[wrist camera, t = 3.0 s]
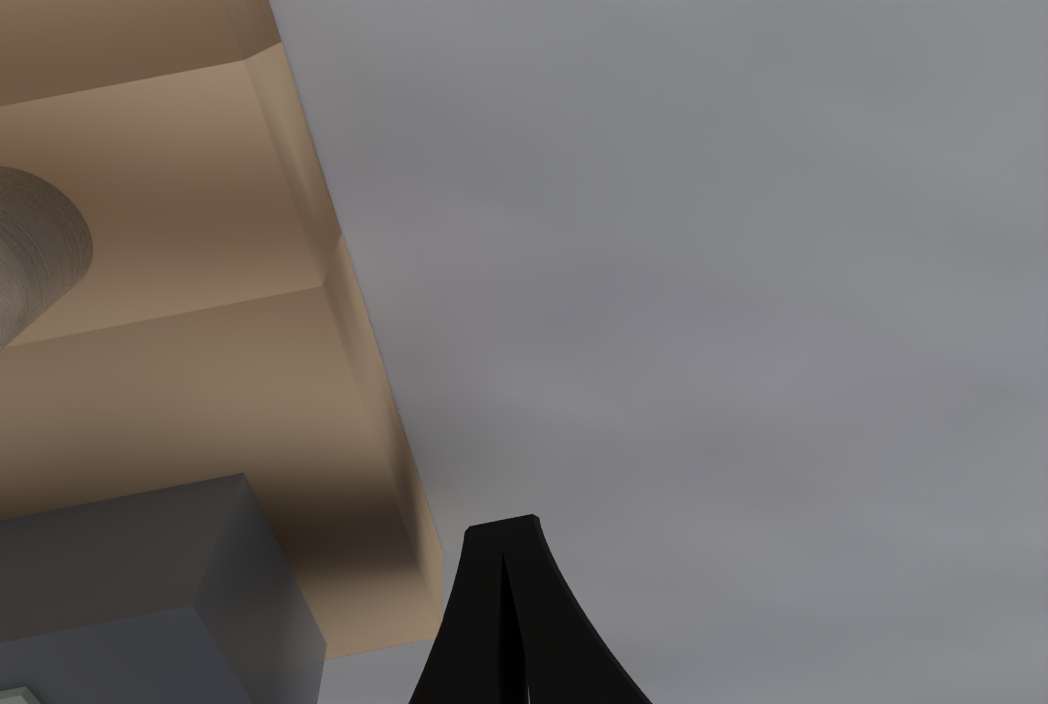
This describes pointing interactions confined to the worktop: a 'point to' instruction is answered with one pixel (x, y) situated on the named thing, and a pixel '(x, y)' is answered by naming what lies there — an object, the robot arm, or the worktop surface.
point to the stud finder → (154, 603)
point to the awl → (37, 249)
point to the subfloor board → (206, 304)
